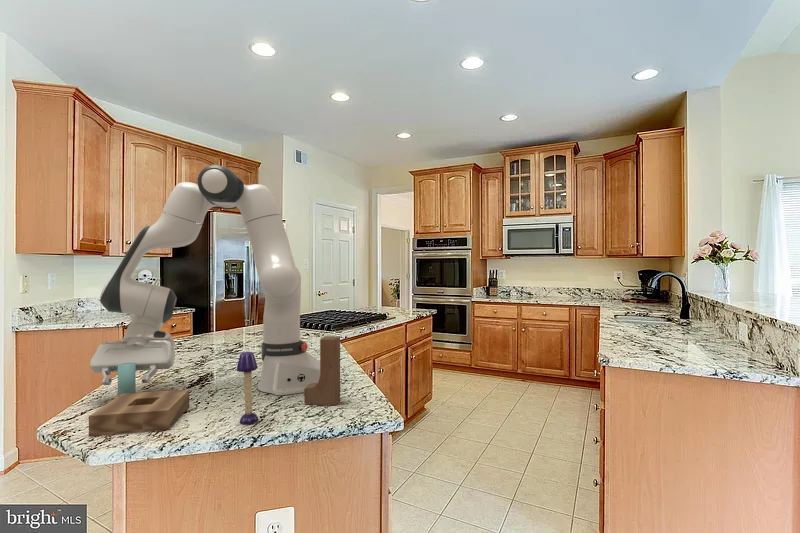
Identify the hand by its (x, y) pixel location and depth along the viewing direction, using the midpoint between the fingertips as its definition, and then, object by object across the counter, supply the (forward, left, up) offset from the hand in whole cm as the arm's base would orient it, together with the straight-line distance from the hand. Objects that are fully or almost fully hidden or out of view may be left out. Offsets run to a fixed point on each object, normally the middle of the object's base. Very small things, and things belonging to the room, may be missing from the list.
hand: (125, 383), depth 108 cm
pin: (0, 0, -6) cm, 6 cm away
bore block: (-9, +13, -6) cm, 17 cm away
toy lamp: (-34, +20, -6) cm, 40 cm away
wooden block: (-52, +10, -6) cm, 53 cm away
